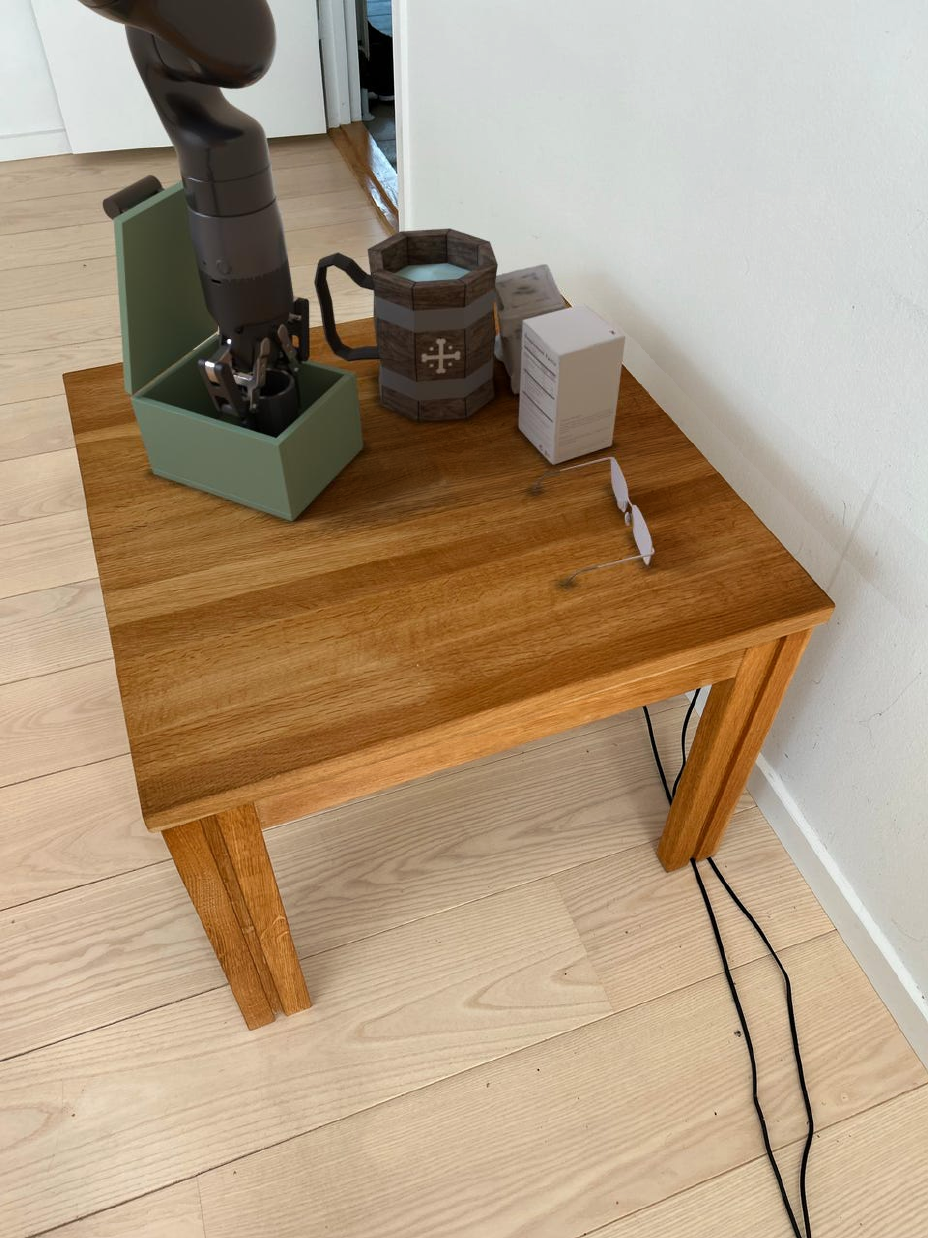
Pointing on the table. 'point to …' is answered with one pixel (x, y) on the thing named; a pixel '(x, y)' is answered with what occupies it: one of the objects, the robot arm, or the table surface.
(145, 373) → the lid
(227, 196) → the robot arm
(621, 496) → the eyeglasses
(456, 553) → the table surface
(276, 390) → the cup
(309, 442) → the chest
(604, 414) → the white packaging box
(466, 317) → the mug
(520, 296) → the incense holder
